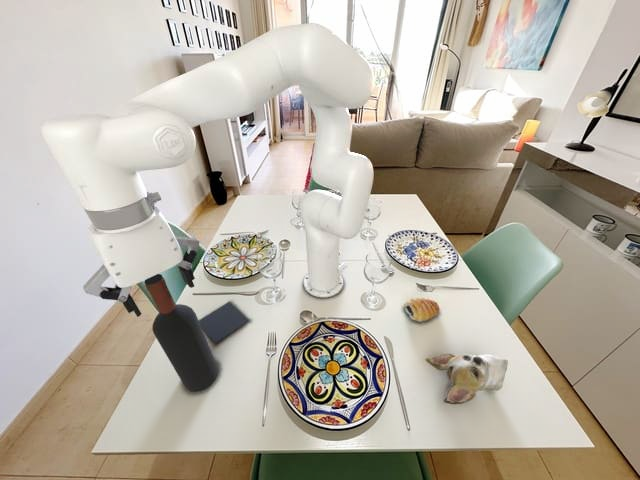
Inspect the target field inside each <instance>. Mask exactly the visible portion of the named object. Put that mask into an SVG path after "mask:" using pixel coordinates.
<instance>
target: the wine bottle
mask: <svg viewBox="0 0 640 480" xmlns="http://www.w3.org/2000/svg"><path fill="white" fill-rule="evenodd" d="M143 283H144V285H145V288H146V290H147V291H148V292H149V294H150V296H151V298H152V300H153V302H154V304H155V305H156V307H157V309H158V312H159V313H158V314H157V315H155V318H154V321H153V323H152V328H151V330H152V333H153V335H154V337H155V339H156V340H157V342H158V344H159V345H160V347H161V349H162V350H163V352H164V354H165V355H166V357H167V359H168V360H169V362H170V364H171V366H172V368H173V369H174V371H175V372H176V374H177V376H178V377H179V379H180V381H181V383H182V384H183V386H184V387H185V389H186V390H187V391H189V392H192V393H198V392H199V393H200V392H202V391H205V390H207V389H208V388H210V387H211V386H212V385H213V384H214V383H215V381H216V380H217V377H218V376H219V366H218V363H217V361H216V358H215V356H214V354H213V352H212V349H211V347H210V344H209V342H208V340H207V338H206V337H207V336H206V335H205V331H204V329H203V328H202V327H201V325H200V323H199V318H198V316H197V313H196V312H195V311H194V309H193V308H192V307H191V306H190V305H189V306H188V305H185V304H182V303H178V304H177V303H176V302H175V299H174V297H173V296H172V293H171V291H170V289H169V287H168V285H167V282H166V279H165V278H164V276H163V274H161V273H159V274H157V275H155V276H152V277H150V278H148V279H146V280H144V281H143Z"/></svg>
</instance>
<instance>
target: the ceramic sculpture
mask: <svg viewBox="0 0 640 480" xmlns="http://www.w3.org/2000/svg"><path fill="white" fill-rule="evenodd" d="M424 360H425V362H426V363H428V364H429V365H431V366H432V367H433V368H435V369H437V370H438V371H445V370H446V374H447V379H448V381H449V382H450V383H451V386H450V387H449V388H448V389H447V391H446V395H445V397H444V399H443V401H442V402H443V403H444V404H449V405H463V404H466V403H468V402H470V401H472V400H473V399H474V398H475V397H476V395H477V392H479V391H483V390H485V389H489V390H491V391H495V392H496V391H500V390H501V389H502V388H503V386H504V381H505V376H506V374H507V370H508V364H509V361H508V360H507V359H506V358H502V357H498V356H496V355H494V354H493V355H492V354H479V355H477V354H467V353H466V354H462V355H455V354H453V353H452V354H451V353H441V354H439V355H436V356H433V357H431V358H425V359H424Z"/></svg>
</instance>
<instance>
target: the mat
mask: <svg viewBox="0 0 640 480" xmlns="http://www.w3.org/2000/svg"><path fill="white" fill-rule="evenodd" d="M198 321H199V323H200V325H201V328H202V330H203V332H204V333H206V334H207V335H208V337H209V338H210V340H211V341H212V342H213V343H214V344H215V345H217V344H219V343H220V342H221V341H223V340H224V339H226V338H227V337H228V336H231V334H233V333H235V332H236V331H237V330H239V329H240V328H241V327H243V326H244V325H246V324H247V323H248V322H249V321H250V320H249V319H248V318H247V316H245V315H244V314H243V313H242V312H241V311H240V310H239V308H237V307H236V306H235V305H234V304H233V303H232V302H231V301H228V302H226V303H225V304H223V305H222V306H219V308H217V309H215V310H213V311H212V312H210V313H208V314H207V315H205V316H204V317H202V318H201V319H198Z"/></svg>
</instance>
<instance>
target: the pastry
mask: <svg viewBox="0 0 640 480" xmlns="http://www.w3.org/2000/svg"><path fill="white" fill-rule="evenodd" d="M403 307H404V311H405V312H406V313H407V315H409V318H410V319H411V320H412V321H415V322H418V323H419V322H426V321H428V320H430V319H433V318H434V317H435V316H437V315H439V312H440V306H439V304H438V302H437V301H434V300H433V299H428V298H423V297H422V298H418V297H417V298H415V299H414V298H411V299H409V301H407V302H404V304H403Z"/></svg>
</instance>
